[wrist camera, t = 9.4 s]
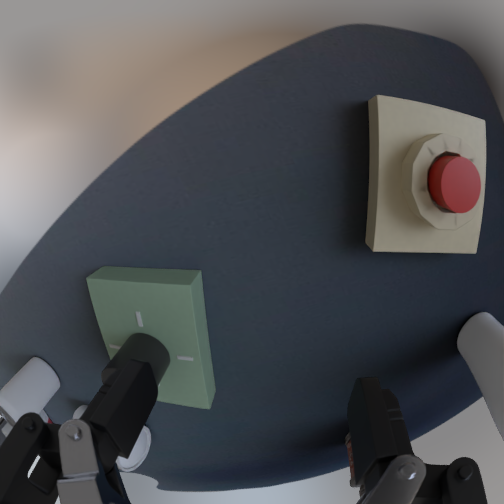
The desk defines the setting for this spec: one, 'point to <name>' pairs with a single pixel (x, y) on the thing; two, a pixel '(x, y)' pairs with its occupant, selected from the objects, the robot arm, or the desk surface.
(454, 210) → the stop button
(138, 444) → the spotlight
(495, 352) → the drinking glass
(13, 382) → the can
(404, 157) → the switch housing
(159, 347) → the dial knob
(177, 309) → the dial panel
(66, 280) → the desk surface
